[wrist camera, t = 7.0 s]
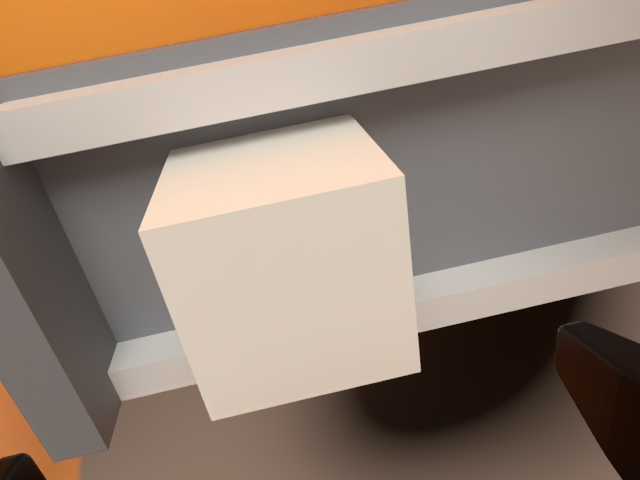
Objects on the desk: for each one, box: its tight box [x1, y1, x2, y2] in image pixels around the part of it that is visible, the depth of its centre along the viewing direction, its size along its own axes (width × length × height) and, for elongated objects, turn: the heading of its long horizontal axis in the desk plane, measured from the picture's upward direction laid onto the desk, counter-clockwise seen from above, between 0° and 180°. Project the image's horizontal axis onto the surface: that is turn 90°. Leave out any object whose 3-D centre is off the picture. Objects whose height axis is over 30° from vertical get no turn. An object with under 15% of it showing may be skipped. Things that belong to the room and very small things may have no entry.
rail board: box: [0, 0, 640, 463], centre depth 14 cm, size 26×10×4 cm, turn 99°
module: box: [138, 114, 421, 421], centre depth 12 cm, size 5×5×5 cm
